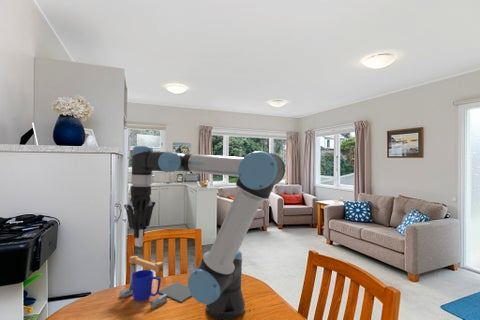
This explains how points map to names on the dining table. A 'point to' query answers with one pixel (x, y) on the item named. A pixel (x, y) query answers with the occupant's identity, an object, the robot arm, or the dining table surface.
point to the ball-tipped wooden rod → (146, 264)
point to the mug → (143, 284)
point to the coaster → (177, 292)
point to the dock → (129, 291)
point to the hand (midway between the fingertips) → (138, 245)
